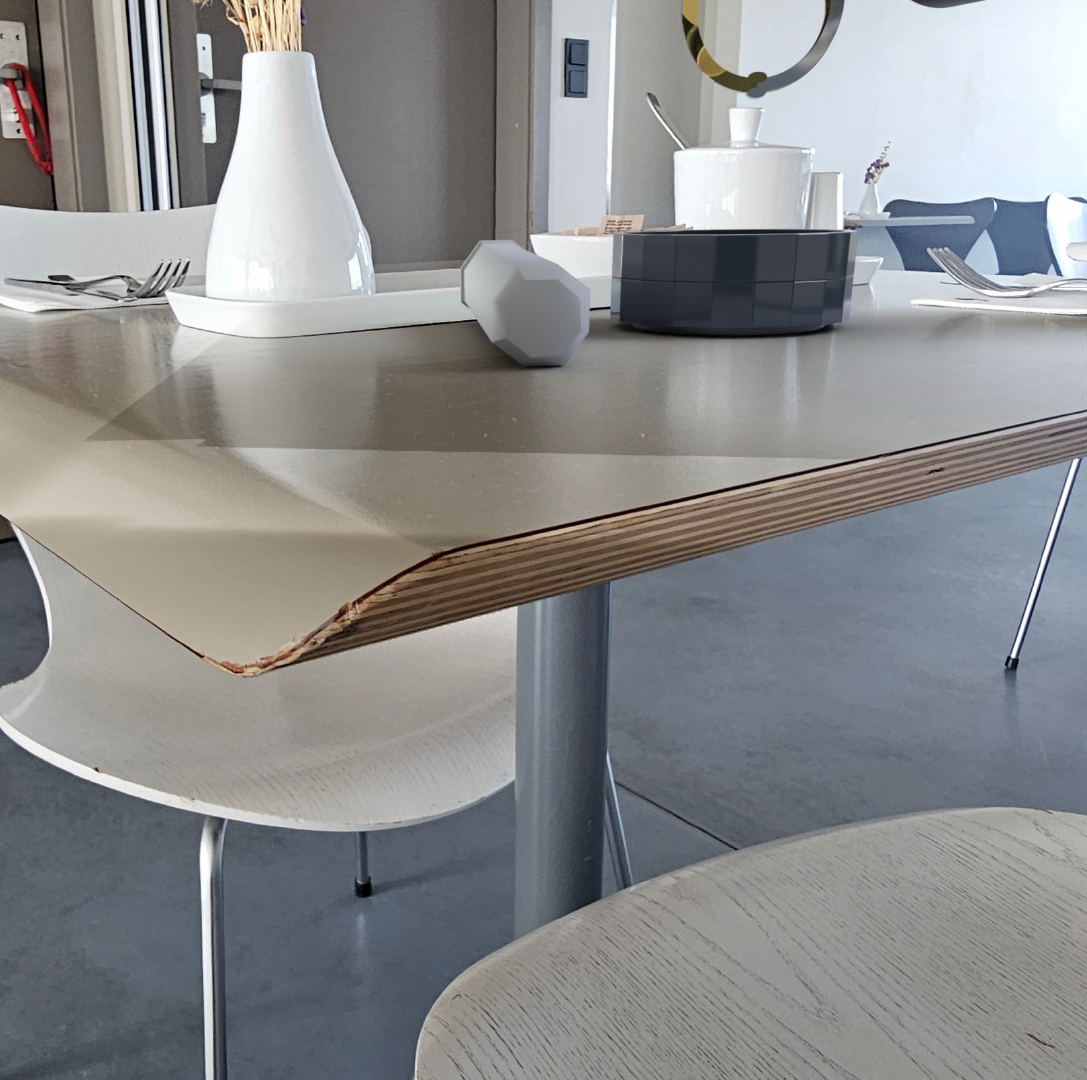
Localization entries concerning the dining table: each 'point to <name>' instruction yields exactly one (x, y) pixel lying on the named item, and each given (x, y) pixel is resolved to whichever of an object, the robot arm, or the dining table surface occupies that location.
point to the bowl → (733, 280)
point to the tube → (525, 303)
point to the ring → (758, 81)
